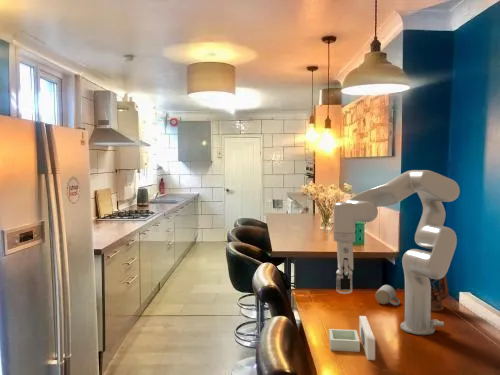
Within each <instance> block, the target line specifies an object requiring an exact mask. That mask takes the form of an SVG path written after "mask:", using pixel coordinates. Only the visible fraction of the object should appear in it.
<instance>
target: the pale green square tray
mask: <svg viewBox="0 0 500 375" xmlns="http://www.w3.org/2000/svg"><path fill="white" fill-rule="evenodd" d="M358 333H359V332H358V331H357V329H340V328H329V329H328V334H329V335H328V338H329V349H330V351H335V352H336V351H338V352H341V351H342V352H357V353H358V352H361V341H360V340H361V339H360V336H359V334H358Z"/></svg>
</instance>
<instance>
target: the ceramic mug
mask: <svg viewBox="0 0 500 375" xmlns="http://www.w3.org/2000/svg"><path fill="white" fill-rule="evenodd" d="M375 300H376V301H377V302H378V303H379V304H380V305H387V304H391V305H393V306H397V307H398V306H400V304H401V300H400V299H399V298H398V297H397V293H396V290H395V289H394V287H393V286H391V285H389V284H384V285H382V286H381V287H379V289H377V291H376V292H375Z"/></svg>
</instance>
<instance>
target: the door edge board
mask: <svg viewBox="0 0 500 375" xmlns="http://www.w3.org/2000/svg"><path fill="white" fill-rule="evenodd" d="M358 317H359V320H358V321H359V323H358V324H359V327H358V328H359V332H358V333H359V334H358V335H359V338H360V340H361V343H362V346H363V349H364V352H365V356H366V359H367V361H375V360H376V338H375V334H374V333H373V331H372V328H371V326H370V323H369V321H368V320H369V319H368V318H367V316H366V315H359V316H358Z"/></svg>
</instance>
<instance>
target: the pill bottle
mask: <svg viewBox="0 0 500 375" xmlns="http://www.w3.org/2000/svg"><path fill="white" fill-rule="evenodd" d="M342 267H343V266H342ZM342 269H344V268H342ZM343 272H344V271H343ZM353 274H354V273H353V270H351V269H350V267H349V275H350V289H349V290H345V289H341V270H340V269H339V265H338V264H337V270H336V272H335V276H336V277H335V282H336V283H335V285H336V287H335V288H336V292H337V293H339V294H344V295H345V294H346V295H347V294H352V293H353V290H354V289H353V288H354V287H353V286H354V285H353V282H354V281H353V278H354V277H353Z"/></svg>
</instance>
